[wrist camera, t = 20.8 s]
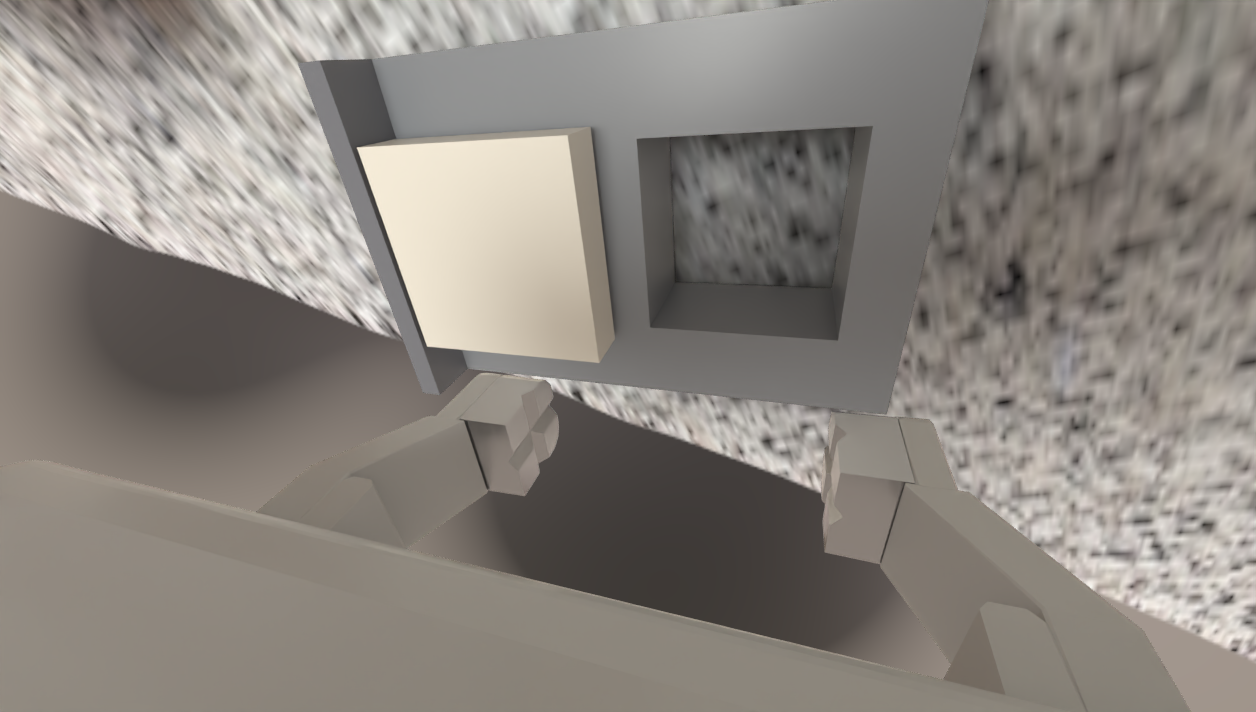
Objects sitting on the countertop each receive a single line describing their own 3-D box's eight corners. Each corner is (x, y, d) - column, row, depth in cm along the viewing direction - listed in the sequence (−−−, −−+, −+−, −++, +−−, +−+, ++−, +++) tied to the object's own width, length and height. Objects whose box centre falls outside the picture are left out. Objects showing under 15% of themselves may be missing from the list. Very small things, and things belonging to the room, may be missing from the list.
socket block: (946, -4, 16) (1029, -34, 10) (872, 351, 23) (895, 454, 17) (432, 59, 22) (297, 63, 16) (499, 323, 30) (423, 392, 24)
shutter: (590, 126, 17) (567, 135, 15) (615, 338, 21) (599, 362, 19) (394, 139, 19) (356, 147, 18) (452, 326, 24) (427, 346, 22)
